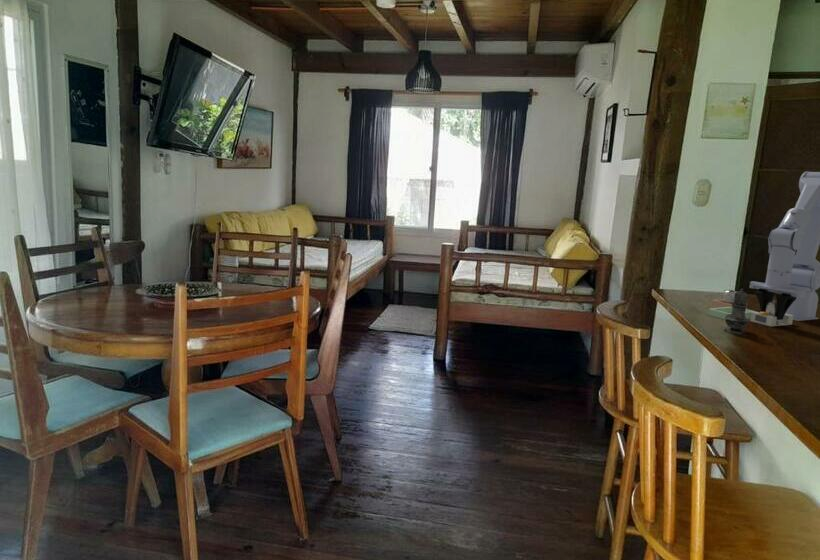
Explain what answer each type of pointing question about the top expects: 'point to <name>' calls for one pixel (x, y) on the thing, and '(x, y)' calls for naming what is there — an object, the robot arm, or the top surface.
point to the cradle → (770, 319)
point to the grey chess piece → (738, 314)
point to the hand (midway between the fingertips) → (771, 317)
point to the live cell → (772, 309)
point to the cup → (720, 304)
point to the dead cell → (729, 296)
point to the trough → (725, 312)
